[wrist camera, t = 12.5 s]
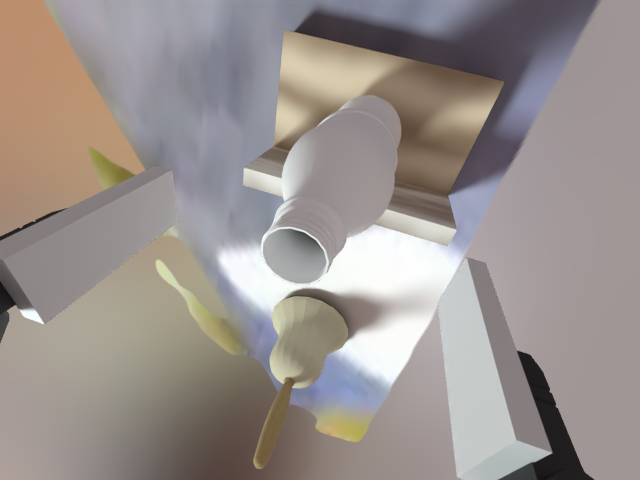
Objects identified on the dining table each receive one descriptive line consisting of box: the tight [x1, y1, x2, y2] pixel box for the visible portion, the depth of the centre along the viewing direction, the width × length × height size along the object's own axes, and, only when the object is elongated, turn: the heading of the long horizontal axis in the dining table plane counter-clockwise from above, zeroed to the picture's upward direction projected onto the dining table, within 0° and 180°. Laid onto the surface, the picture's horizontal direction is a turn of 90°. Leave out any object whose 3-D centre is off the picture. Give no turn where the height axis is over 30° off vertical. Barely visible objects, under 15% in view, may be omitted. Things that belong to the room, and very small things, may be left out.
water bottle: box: [261, 95, 401, 285], centre depth 22 cm, size 7×7×25 cm
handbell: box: [254, 296, 348, 469], centre depth 47 cm, size 15×15×25 cm
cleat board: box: [243, 30, 505, 246], centre depth 30 cm, size 14×22×11 cm, turn 80°
